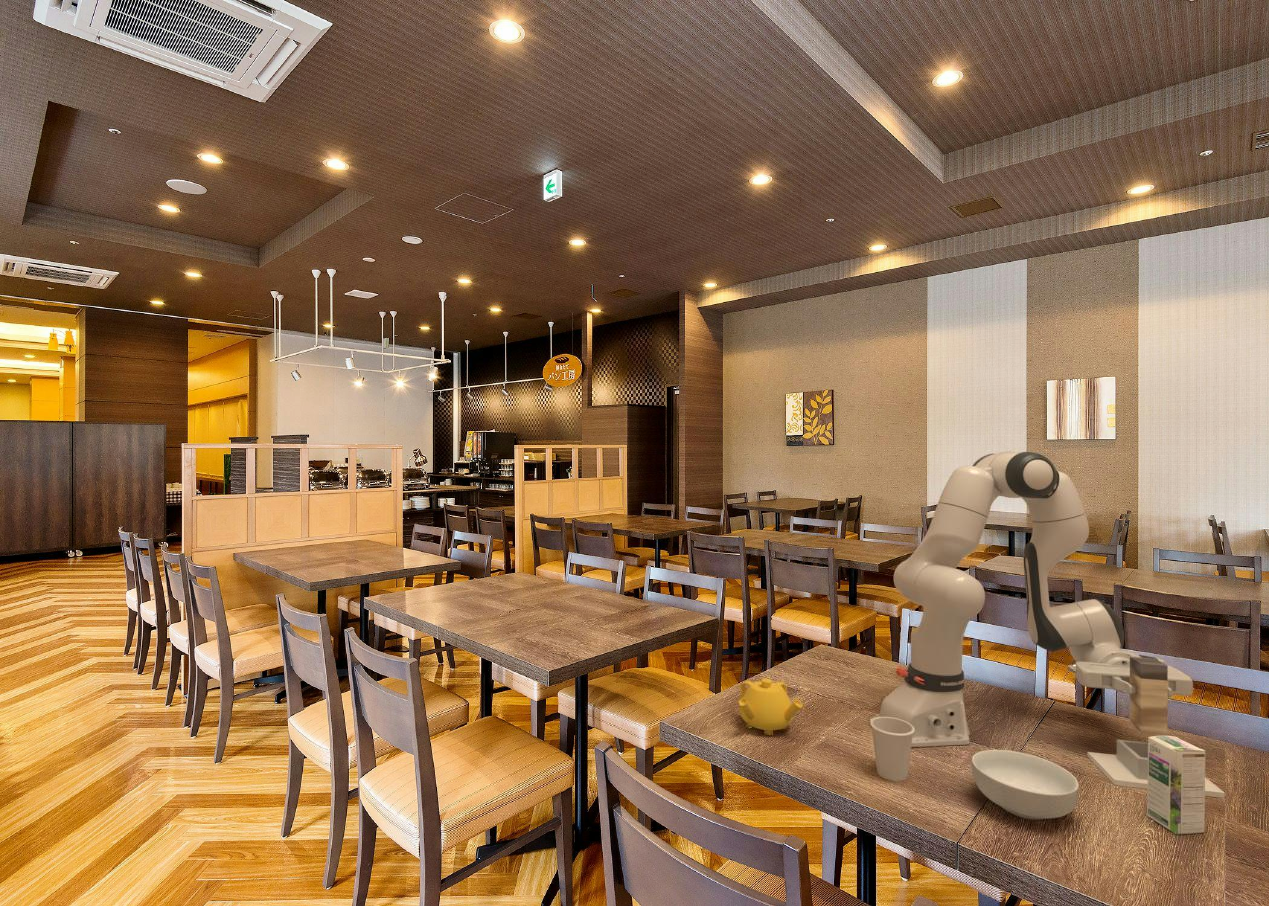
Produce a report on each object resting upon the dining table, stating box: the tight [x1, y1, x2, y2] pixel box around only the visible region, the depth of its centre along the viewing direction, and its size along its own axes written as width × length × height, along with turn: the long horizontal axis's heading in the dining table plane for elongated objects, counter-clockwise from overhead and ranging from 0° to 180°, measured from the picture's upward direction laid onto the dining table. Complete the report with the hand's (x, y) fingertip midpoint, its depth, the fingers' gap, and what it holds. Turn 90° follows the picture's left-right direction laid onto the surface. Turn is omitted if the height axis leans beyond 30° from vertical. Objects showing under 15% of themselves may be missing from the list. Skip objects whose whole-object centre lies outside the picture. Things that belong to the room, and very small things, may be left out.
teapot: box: [738, 678, 804, 736], centre depth 148 cm, size 14×14×11 cm
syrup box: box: [1146, 735, 1206, 835], centre depth 110 cm, size 6×6×14 cm
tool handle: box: [1129, 657, 1169, 736], centre depth 128 cm, size 4×4×14 cm
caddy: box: [1087, 739, 1226, 799], centre depth 126 cm, size 12×18×5 cm, turn 75°
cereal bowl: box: [970, 749, 1080, 821], centre depth 115 cm, size 17×17×7 cm
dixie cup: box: [869, 716, 915, 782], centre depth 127 cm, size 8×8×10 cm
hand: (1150, 691), depth 127 cm, fingers closed on tool handle, 4 cm apart
